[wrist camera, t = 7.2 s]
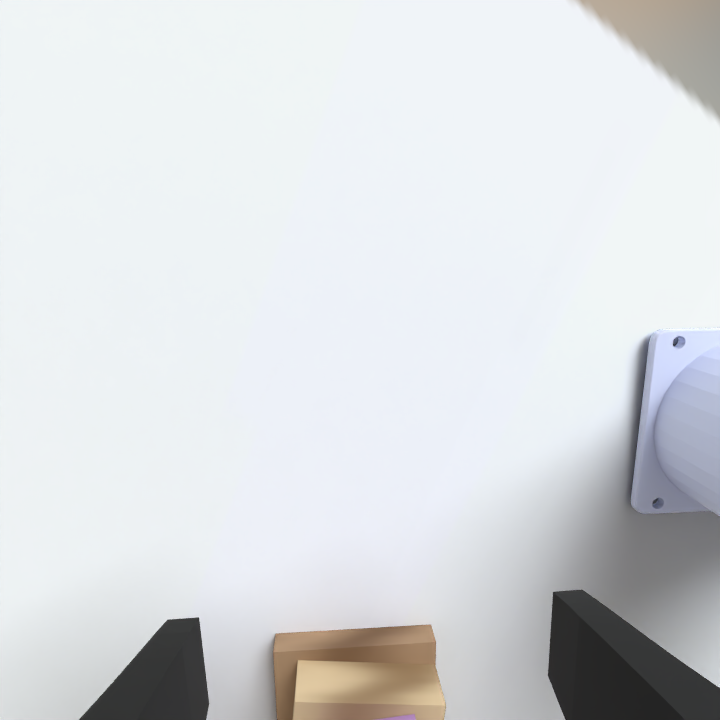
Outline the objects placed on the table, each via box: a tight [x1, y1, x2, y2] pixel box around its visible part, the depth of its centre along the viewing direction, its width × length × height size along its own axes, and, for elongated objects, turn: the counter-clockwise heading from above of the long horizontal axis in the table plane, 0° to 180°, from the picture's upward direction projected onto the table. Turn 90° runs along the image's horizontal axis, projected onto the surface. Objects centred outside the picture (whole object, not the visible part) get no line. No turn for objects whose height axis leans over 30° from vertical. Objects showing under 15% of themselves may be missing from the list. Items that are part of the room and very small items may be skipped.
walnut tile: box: [273, 625, 436, 720], centre depth 22 cm, size 7×7×2 cm
